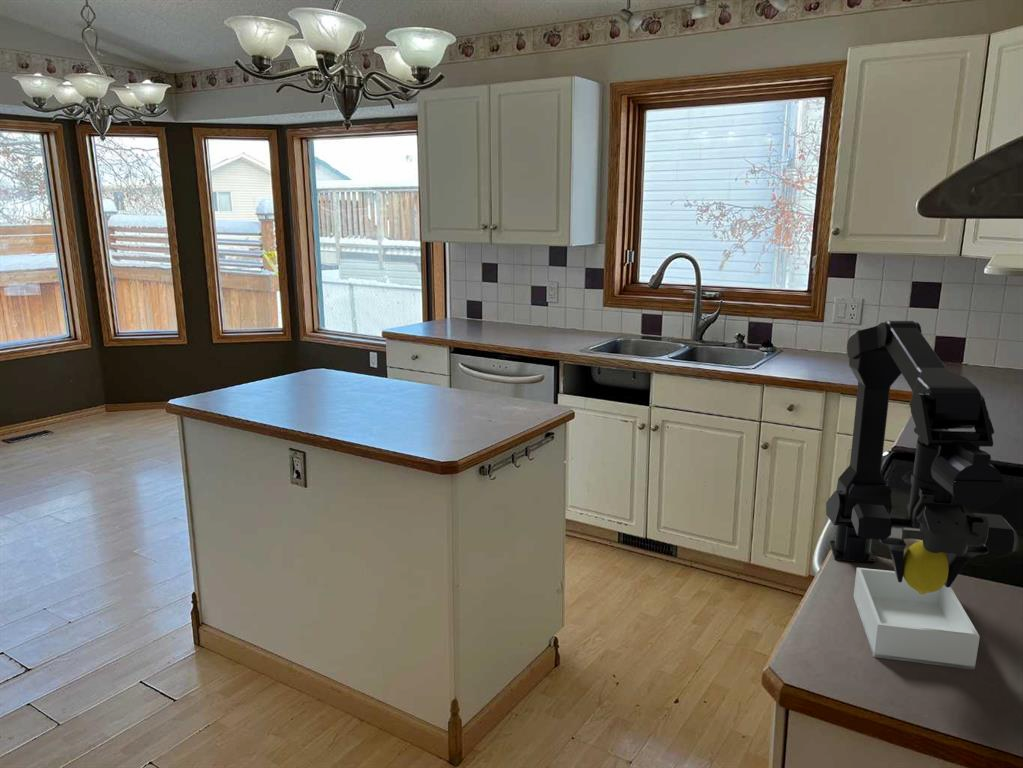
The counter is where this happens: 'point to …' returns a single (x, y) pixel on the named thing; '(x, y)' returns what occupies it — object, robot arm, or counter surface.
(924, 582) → the lemon
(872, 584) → the tote
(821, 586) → the counter surface
